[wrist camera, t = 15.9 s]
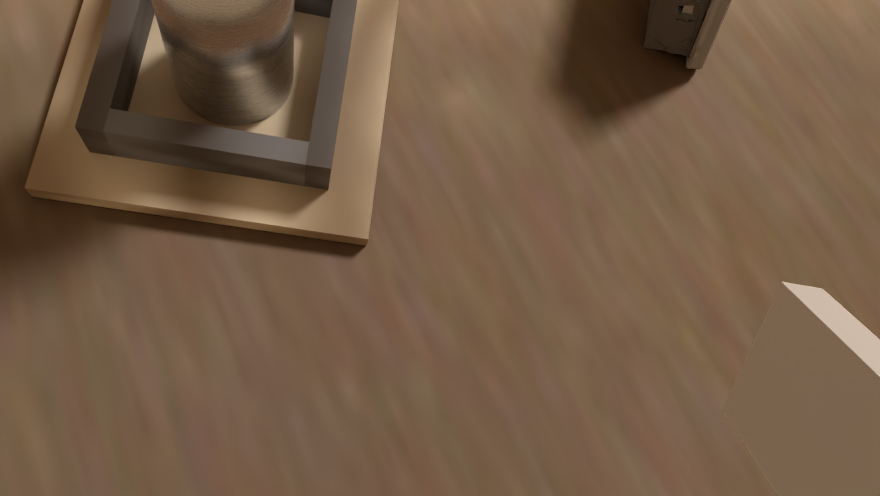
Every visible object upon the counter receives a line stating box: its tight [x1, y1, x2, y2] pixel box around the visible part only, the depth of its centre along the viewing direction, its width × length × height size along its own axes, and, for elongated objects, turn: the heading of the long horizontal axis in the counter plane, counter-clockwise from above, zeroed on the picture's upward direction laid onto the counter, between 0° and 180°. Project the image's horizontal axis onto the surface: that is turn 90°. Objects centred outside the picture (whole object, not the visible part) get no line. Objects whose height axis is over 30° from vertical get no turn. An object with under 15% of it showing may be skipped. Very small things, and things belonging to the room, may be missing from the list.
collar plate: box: [24, 0, 399, 246], centre depth 36 cm, size 16×16×4 cm
